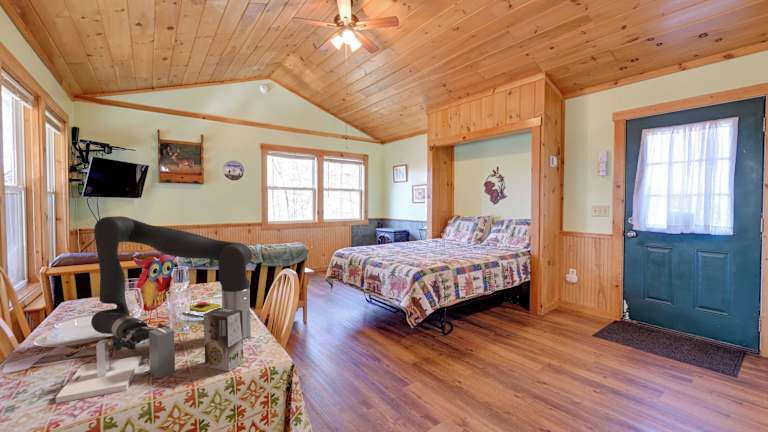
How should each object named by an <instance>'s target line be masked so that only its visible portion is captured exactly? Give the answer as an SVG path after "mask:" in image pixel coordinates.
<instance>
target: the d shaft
mask: <svg viewBox="0 0 768 432" xmlns="http://www.w3.org/2000/svg"><path fill="white" fill-rule="evenodd" d="M95 346H96V347H95V348H96V363H97V378H98V377H104V376H106V375H107V373H108V372H109V361H110V355H109V339H108V338H107V339H100V340H99V341H98V342H97V343H96V344H95Z"/></svg>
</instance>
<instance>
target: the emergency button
mask: <svg viewBox="0 0 768 432" xmlns="http://www.w3.org/2000/svg"><path fill="white" fill-rule="evenodd" d="M189 306H190V311H196V312H206V311H208V310H210V309H214V308H218V307H220V306H221V304H218V303H213V302H209V301H208V302H207V301H200V302H198V303H194V304H192V305H189Z"/></svg>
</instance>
